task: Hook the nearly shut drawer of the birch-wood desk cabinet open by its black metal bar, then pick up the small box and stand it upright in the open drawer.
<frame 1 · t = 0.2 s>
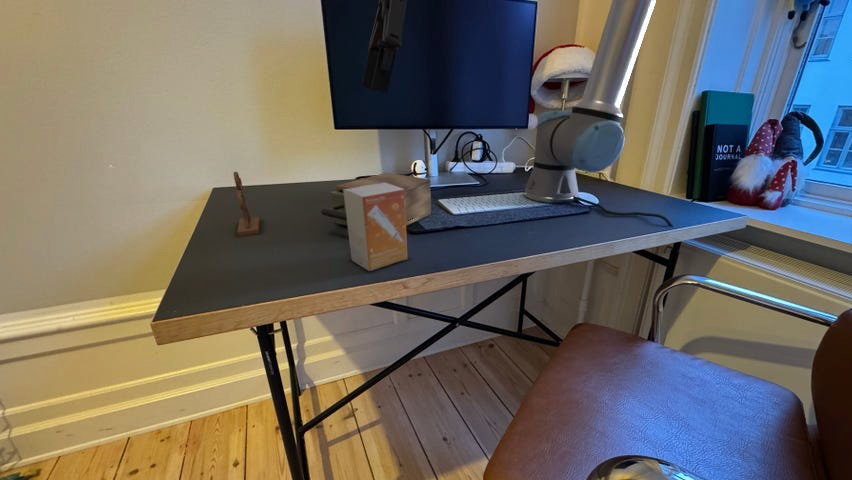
hand: (373, 89, 71), 27 cm above the table, tool tilted 20°, fingers open, 13 cm apart
cabinet: (387, 218, 87), on the table
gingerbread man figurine: (249, 228, 80), on the table
small box: (380, 261, 66), on the table
drawer: (370, 206, 81), point 4 cm above the table, slide at 1.0 cm
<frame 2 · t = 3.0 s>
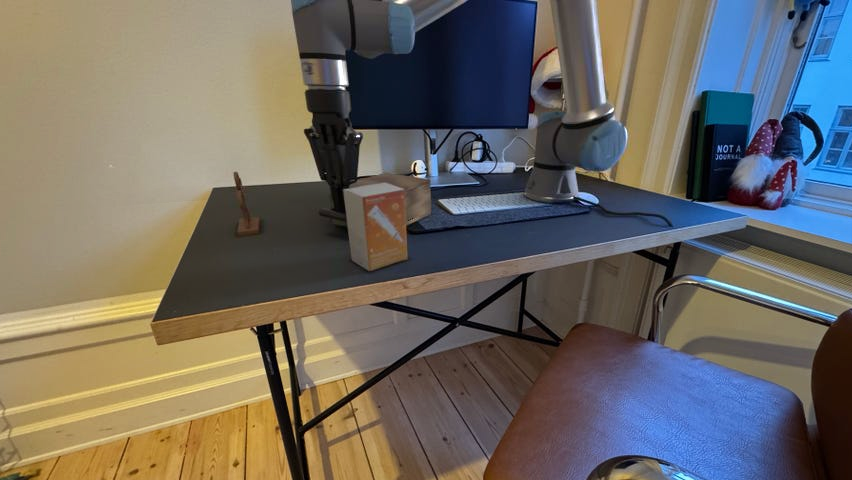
hand: (343, 217, 75), 4 cm above the table, tool pointing down, fingers closed
drawer: (368, 207, 80), point 4 cm above the table, slide at 1.6 cm
everything else where it was.
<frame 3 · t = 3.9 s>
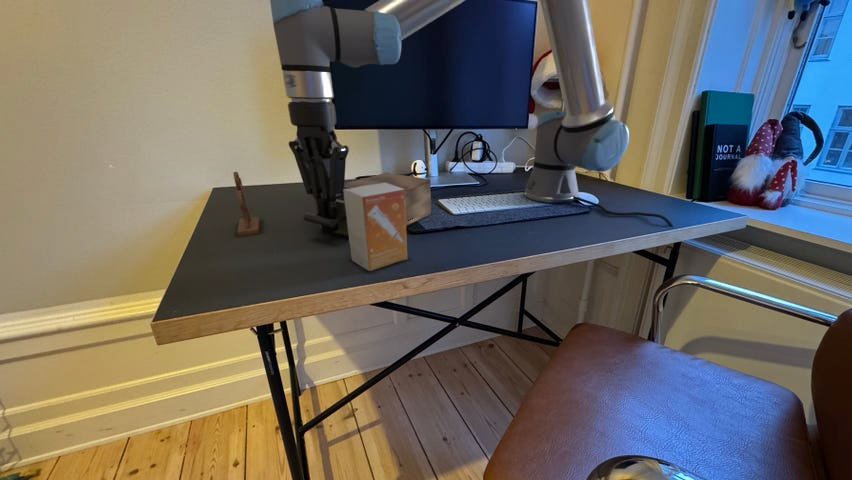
hand: (330, 231, 73), 2 cm above the table, tool pointing down, fingers closed
drawer: (356, 211, 77), point 4 cm above the table, slide at 5.3 cm, touching gripper
everything else where it was.
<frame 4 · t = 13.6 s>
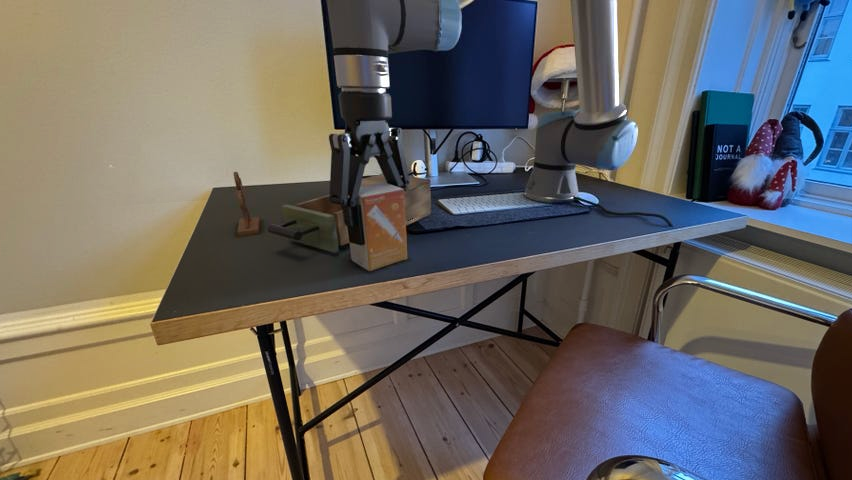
hand: (377, 233, 64), 5 cm above the table, tool pointing down, fingers closed on small box, 9 cm apart
small box: (380, 261, 66), on the table, touching gripper
drawer: (328, 221, 71), point 4 cm above the table, slide at 12.9 cm
everything else where it was.
when the fingers open (7 cm above the table, at t = 22.8 s): small box stays where it is, resting on drawer.
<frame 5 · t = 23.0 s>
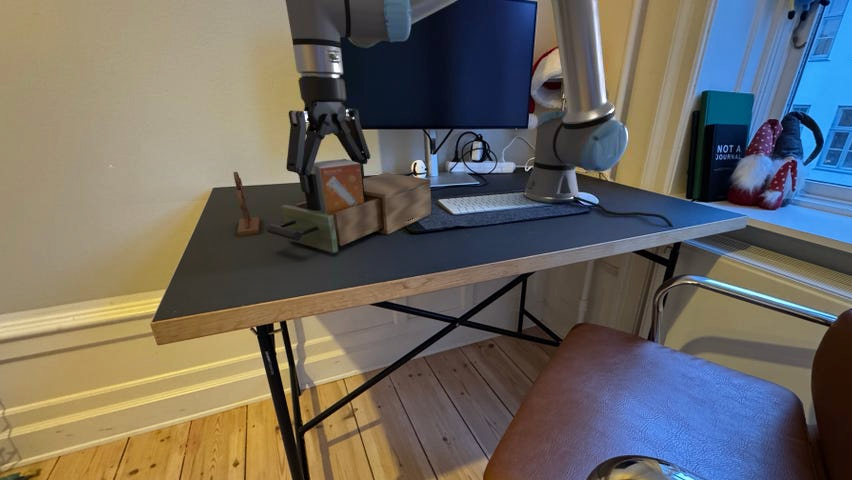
hand: (337, 202, 72), 7 cm above the table, tool pointing down, fingers open, 11 cm apart
small box: (342, 228, 75), point 2 cm above the table, touching drawer
drawer: (327, 221, 71), point 4 cm above the table, slide at 13.0 cm, touching small box
everything else where it was.
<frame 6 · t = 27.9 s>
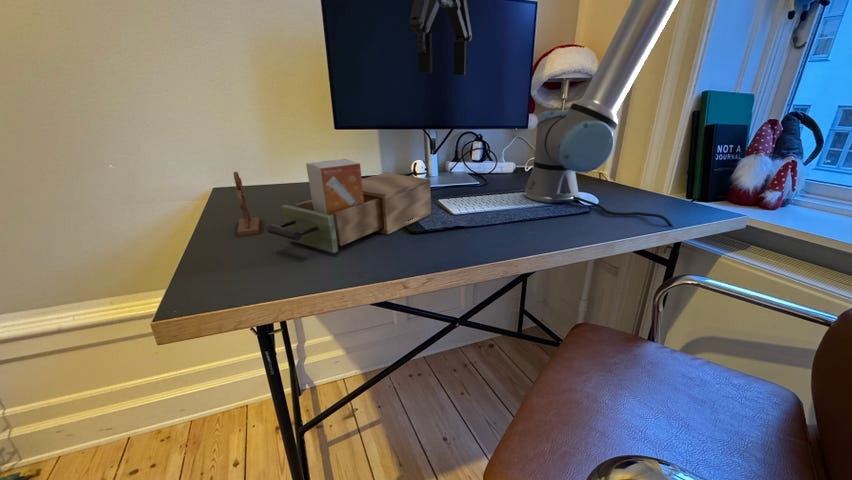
hand: (443, 74, 78), 31 cm above the table, tool pointing down, fingers open, 13 cm apart
nothing on the table moved.
at the end: drawer slide at 13.0 cm; small box inside the target area in the drawer (0.1 cm from its centre), point 1.8 cm above the cabinet's base; small box tilted 0° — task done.
